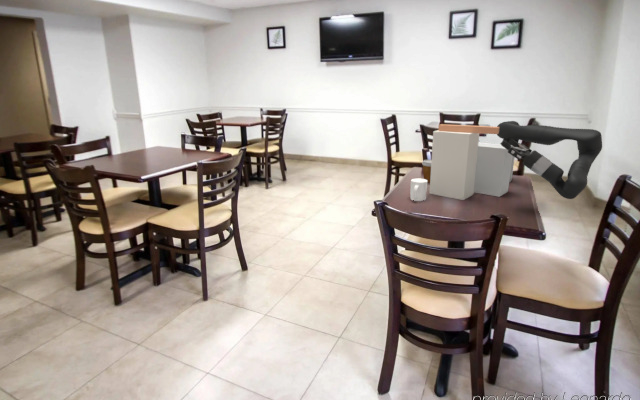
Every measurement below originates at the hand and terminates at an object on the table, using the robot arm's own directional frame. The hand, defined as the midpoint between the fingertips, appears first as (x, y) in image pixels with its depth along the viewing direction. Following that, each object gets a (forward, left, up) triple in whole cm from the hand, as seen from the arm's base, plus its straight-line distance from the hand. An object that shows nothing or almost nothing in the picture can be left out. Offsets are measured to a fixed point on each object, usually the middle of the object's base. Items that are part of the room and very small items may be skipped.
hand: (505, 141), depth 172 cm
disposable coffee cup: (-15, -43, -29) cm, 54 cm away
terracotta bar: (0, -18, +3) cm, 18 cm away
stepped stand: (-8, -17, -29) cm, 35 cm away
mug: (+18, -32, -29) cm, 47 cm away
